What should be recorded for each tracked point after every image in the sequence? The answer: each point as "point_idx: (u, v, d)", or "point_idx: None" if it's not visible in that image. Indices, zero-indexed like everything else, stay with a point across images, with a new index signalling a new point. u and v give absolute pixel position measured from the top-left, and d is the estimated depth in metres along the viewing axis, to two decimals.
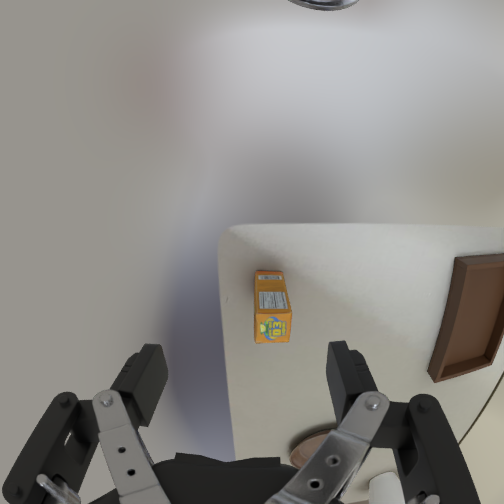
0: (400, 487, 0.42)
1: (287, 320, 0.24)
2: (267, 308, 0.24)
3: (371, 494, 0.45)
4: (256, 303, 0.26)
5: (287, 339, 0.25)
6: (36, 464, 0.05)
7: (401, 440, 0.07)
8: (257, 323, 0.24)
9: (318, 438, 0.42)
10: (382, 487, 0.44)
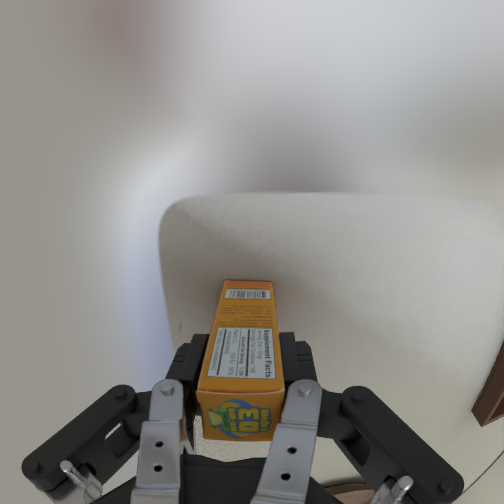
0: None
1: (272, 406, 0.09)
2: (225, 377, 0.10)
3: None
4: (205, 358, 0.11)
5: None
6: (66, 449, 0.06)
7: (337, 430, 0.09)
8: (202, 408, 0.09)
9: None
10: None
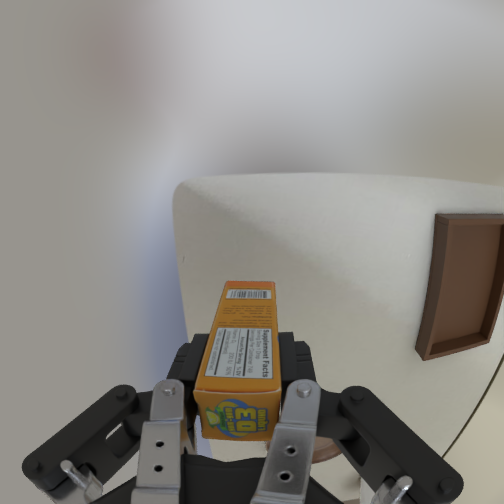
0: None
1: (268, 406, 0.09)
2: (222, 377, 0.10)
3: (362, 491, 0.42)
4: (203, 358, 0.11)
5: (271, 437, 0.10)
6: (67, 449, 0.06)
7: (336, 430, 0.09)
8: (199, 408, 0.09)
9: None
10: None
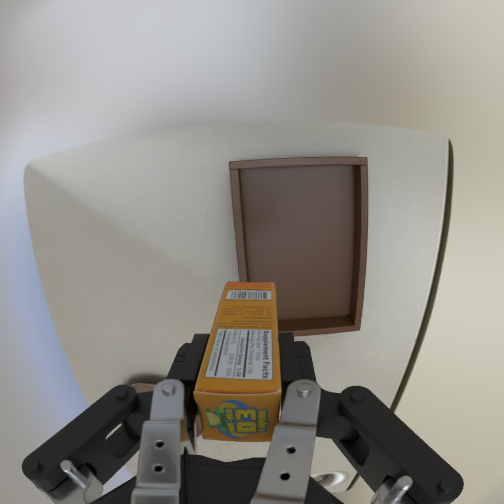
0: None
1: (268, 407, 0.09)
2: (222, 378, 0.10)
3: None
4: (203, 359, 0.11)
5: None
6: (67, 449, 0.06)
7: (336, 430, 0.09)
8: (200, 409, 0.09)
9: None
10: None
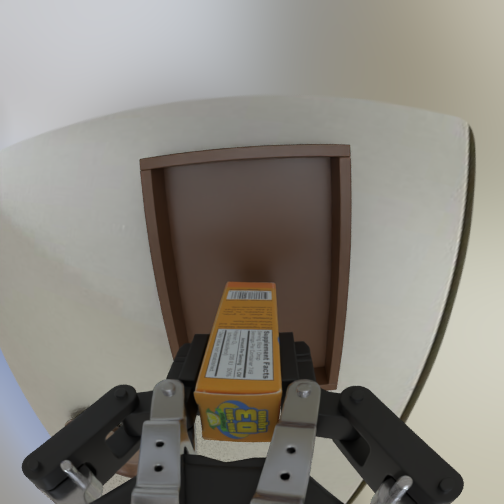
0: None
1: (269, 408, 0.09)
2: (223, 378, 0.10)
3: None
4: (204, 360, 0.11)
5: None
6: (67, 449, 0.06)
7: (336, 430, 0.09)
8: (200, 409, 0.09)
9: None
10: None
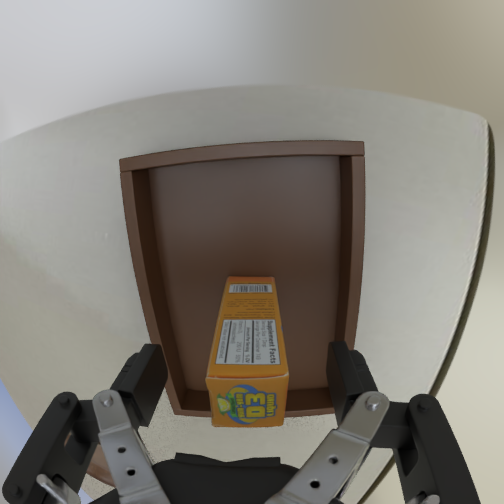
0: None
1: (277, 391, 0.10)
2: (232, 364, 0.10)
3: None
4: (212, 348, 0.11)
5: (279, 422, 0.10)
6: (36, 464, 0.05)
7: (401, 440, 0.07)
8: (211, 395, 0.10)
9: None
10: None
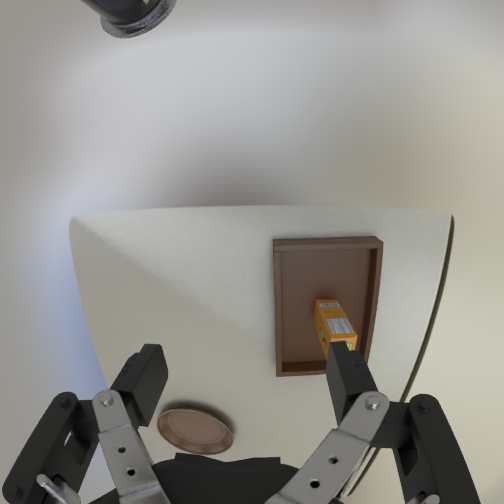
0: None
1: (353, 342, 0.29)
2: (338, 333, 0.29)
3: None
4: (328, 329, 0.30)
5: None
6: (36, 464, 0.05)
7: (401, 440, 0.07)
8: None
9: (181, 415, 0.47)
10: None
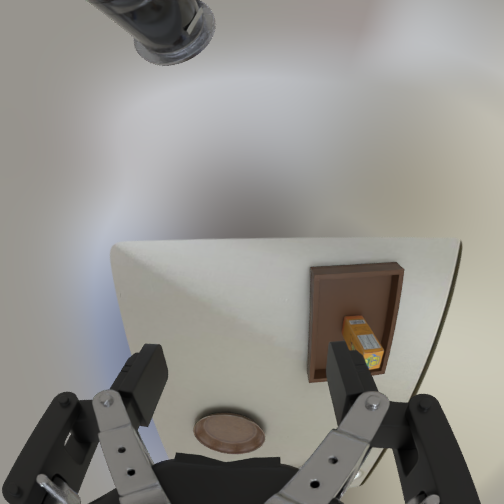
0: None
1: (380, 355, 0.33)
2: (369, 349, 0.34)
3: None
4: (359, 345, 0.35)
5: (378, 366, 0.34)
6: (36, 464, 0.05)
7: (401, 440, 0.07)
8: None
9: (217, 419, 0.52)
10: None
